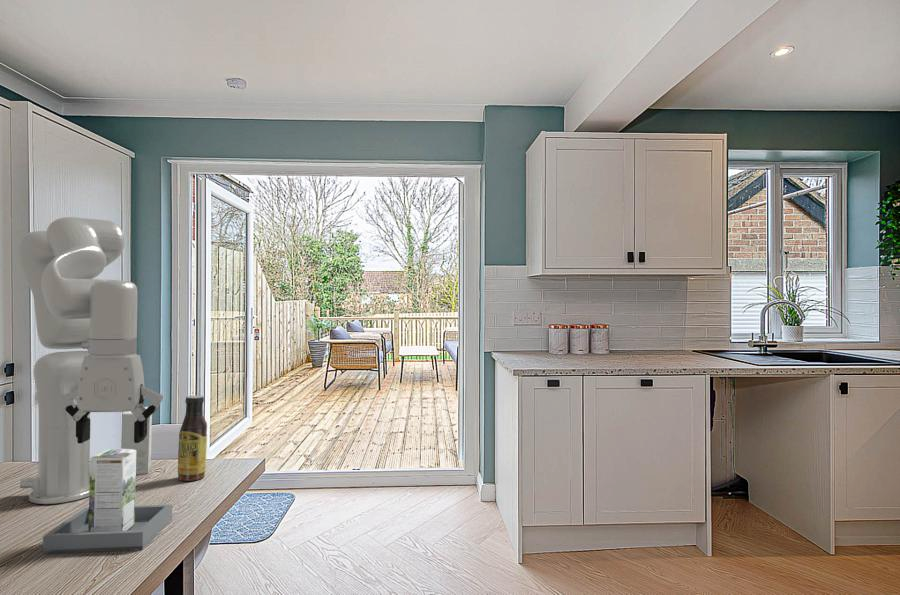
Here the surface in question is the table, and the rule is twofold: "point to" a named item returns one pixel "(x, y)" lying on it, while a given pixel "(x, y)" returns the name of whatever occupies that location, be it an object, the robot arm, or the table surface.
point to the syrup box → (112, 490)
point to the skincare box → (142, 447)
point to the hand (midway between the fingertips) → (111, 441)
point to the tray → (107, 532)
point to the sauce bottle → (192, 441)
